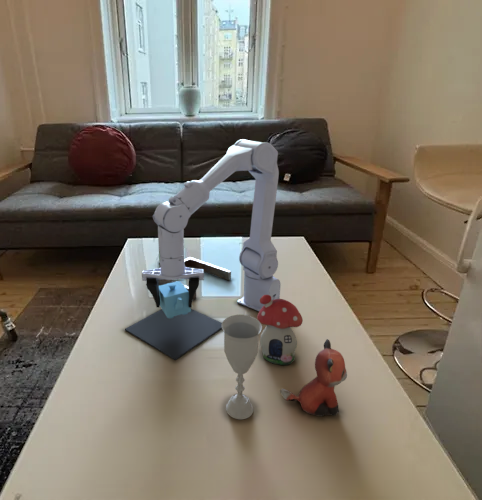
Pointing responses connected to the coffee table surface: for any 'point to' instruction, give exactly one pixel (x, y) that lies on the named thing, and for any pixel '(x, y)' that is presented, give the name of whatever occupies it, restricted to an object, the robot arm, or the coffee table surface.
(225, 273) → the brown u-shaped frame
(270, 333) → the decorative ornament
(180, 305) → the teapot
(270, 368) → the coffee table surface
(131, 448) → the coffee table surface
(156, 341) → the placemat
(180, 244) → the robot arm
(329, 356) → the stuffed fox
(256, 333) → the chalice
